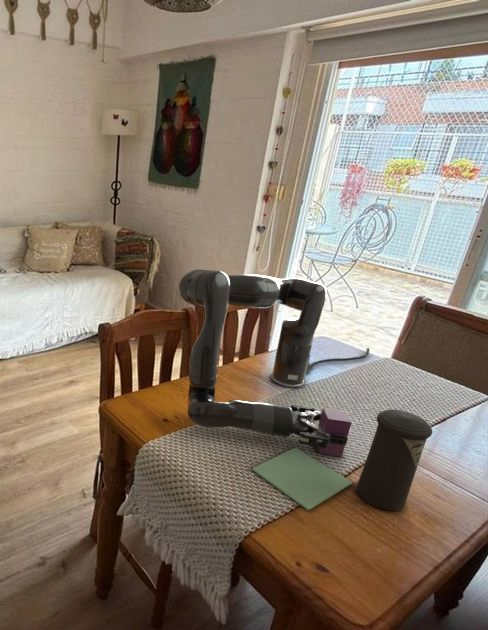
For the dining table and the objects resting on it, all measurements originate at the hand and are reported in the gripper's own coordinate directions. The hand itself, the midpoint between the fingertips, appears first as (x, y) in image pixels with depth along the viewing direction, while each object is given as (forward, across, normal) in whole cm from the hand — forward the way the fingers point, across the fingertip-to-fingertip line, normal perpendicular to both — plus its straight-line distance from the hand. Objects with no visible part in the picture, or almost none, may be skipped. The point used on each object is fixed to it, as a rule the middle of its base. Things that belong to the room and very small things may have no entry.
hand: (341, 429), depth 106 cm
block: (-2, 0, +6) cm, 6 cm away
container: (+5, -15, +6) cm, 17 cm away
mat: (-10, -13, +6) cm, 17 cm away
